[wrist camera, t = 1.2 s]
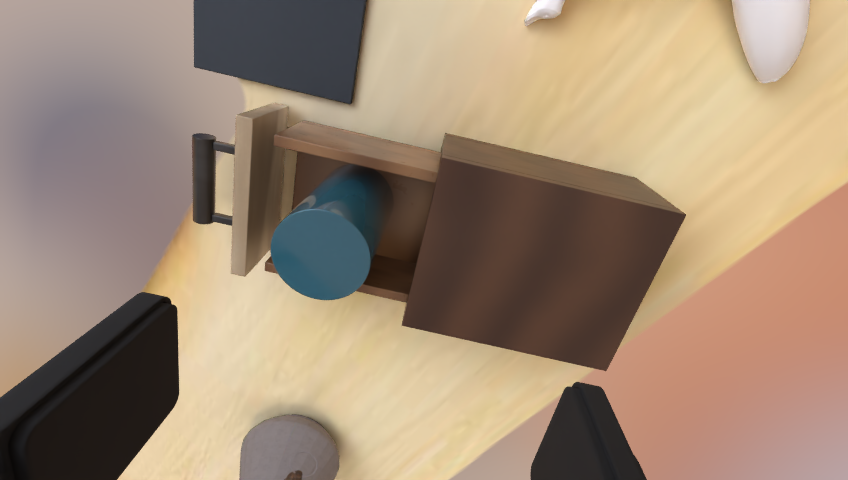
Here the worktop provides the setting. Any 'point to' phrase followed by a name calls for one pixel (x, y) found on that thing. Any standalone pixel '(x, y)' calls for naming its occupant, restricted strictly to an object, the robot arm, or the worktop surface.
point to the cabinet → (536, 253)
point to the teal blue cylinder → (334, 233)
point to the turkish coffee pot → (288, 451)
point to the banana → (745, 31)
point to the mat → (282, 43)
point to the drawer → (317, 156)
